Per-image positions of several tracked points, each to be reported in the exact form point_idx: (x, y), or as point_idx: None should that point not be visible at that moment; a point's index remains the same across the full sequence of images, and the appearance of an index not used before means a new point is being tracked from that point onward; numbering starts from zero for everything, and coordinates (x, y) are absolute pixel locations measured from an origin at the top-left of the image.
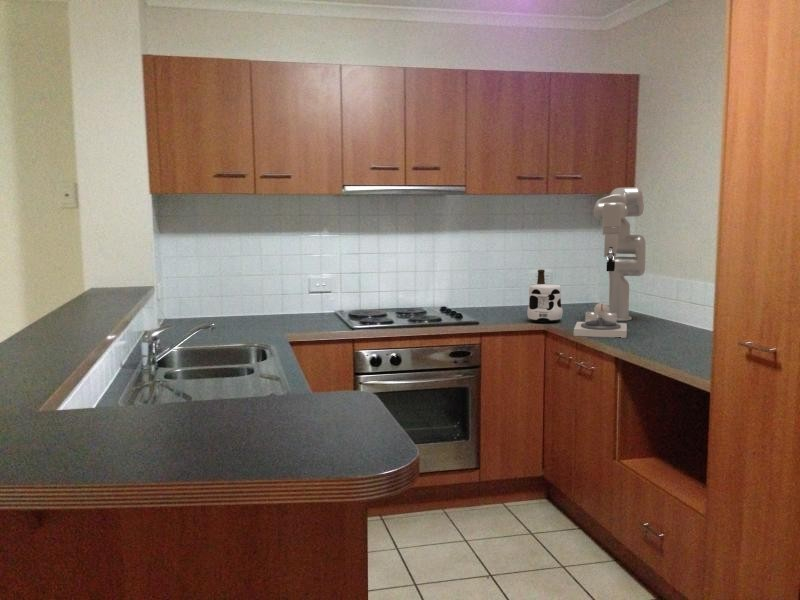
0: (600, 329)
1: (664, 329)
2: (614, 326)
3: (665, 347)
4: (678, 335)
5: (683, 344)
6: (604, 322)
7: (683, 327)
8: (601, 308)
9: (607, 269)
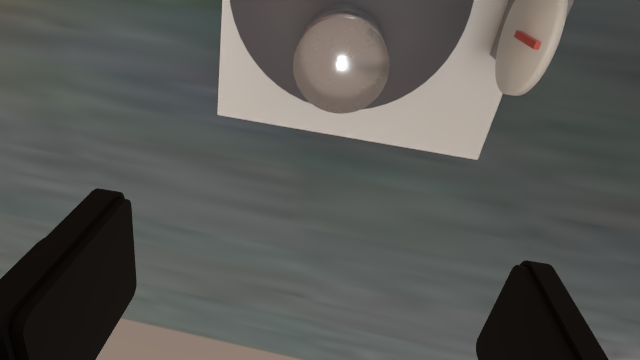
0: None
1: (465, 288)
2: None
3: (47, 205)
4: (320, 298)
5: None
6: (316, 16)
7: None
8: (522, 34)
9: (86, 215)
